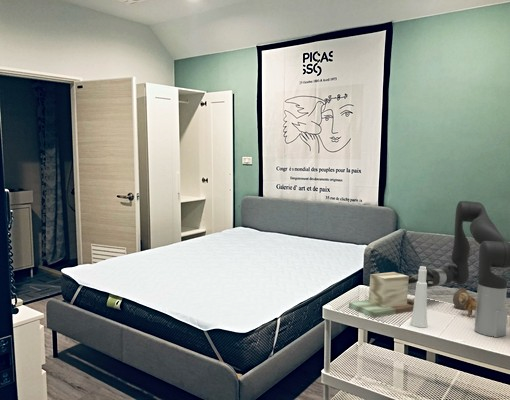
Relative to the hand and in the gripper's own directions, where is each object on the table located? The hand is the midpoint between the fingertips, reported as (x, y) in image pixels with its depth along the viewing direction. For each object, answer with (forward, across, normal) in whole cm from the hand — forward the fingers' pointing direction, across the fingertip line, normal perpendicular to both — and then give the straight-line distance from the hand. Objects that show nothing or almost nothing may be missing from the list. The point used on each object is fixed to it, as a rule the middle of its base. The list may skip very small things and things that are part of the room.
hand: (407, 280), depth 190 cm
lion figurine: (-14, +24, +11) cm, 29 cm away
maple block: (+11, 0, +8) cm, 14 cm away
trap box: (+11, 0, +10) cm, 16 cm away
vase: (-21, +12, +11) cm, 26 cm away
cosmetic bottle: (+16, +20, +10) cm, 28 cm away
